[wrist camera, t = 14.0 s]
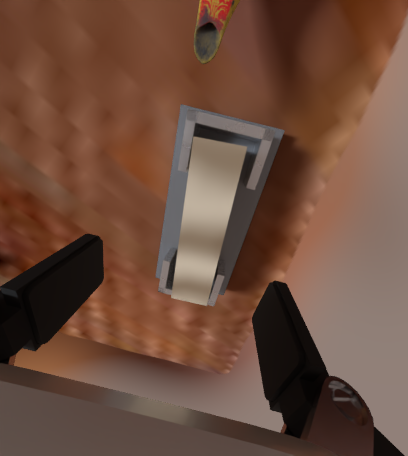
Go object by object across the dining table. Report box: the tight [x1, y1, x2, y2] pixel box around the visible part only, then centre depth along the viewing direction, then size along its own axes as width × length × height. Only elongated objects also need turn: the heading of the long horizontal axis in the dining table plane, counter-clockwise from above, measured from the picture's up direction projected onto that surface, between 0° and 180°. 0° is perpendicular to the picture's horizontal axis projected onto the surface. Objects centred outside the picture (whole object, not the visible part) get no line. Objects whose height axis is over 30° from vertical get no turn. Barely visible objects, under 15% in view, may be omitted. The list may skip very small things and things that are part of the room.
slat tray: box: [156, 104, 285, 295], centre depth 21 cm, size 21×10×2 cm, turn 167°
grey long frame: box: [158, 109, 276, 306], centre depth 19 cm, size 20×7×3 cm, turn 167°
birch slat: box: [171, 136, 247, 306], centre depth 18 cm, size 16×4×5 cm, turn 169°
